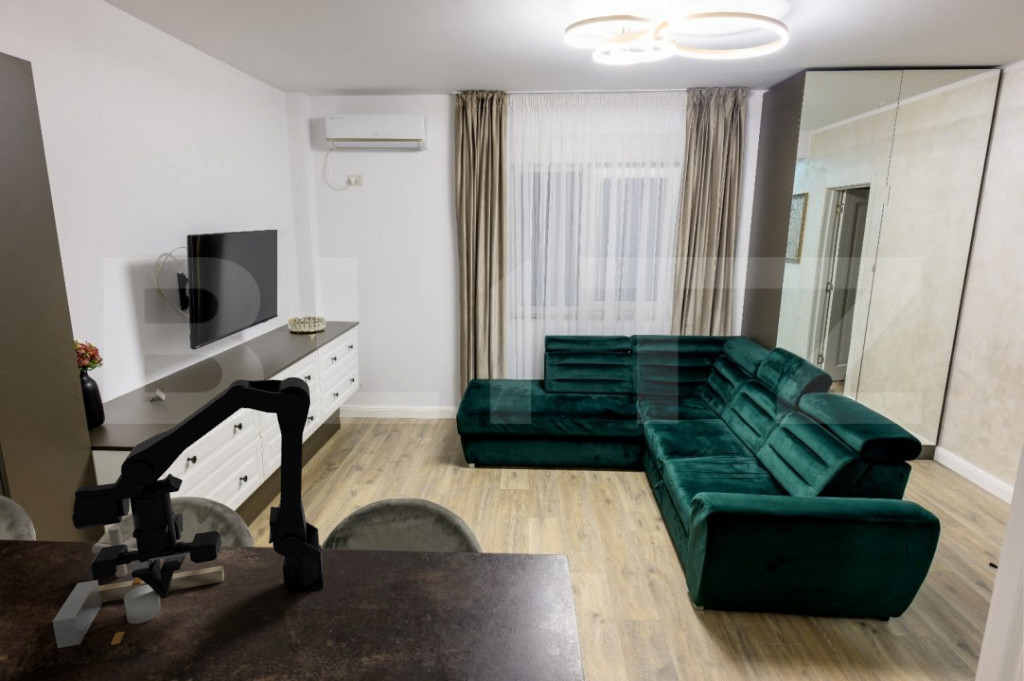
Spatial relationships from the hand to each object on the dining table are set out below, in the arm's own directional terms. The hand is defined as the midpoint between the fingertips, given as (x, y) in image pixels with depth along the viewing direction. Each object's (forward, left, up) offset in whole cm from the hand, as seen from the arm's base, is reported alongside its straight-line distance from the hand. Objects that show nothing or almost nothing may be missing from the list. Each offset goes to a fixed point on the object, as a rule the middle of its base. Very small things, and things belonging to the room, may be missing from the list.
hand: (165, 597), depth 100 cm
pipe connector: (+11, -14, -3) cm, 18 cm away
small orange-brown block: (+6, +5, -3) cm, 8 cm away
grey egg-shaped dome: (+4, 0, -3) cm, 4 cm away
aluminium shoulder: (+13, 0, -3) cm, 13 cm away
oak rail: (+3, -7, -3) cm, 8 cm away
